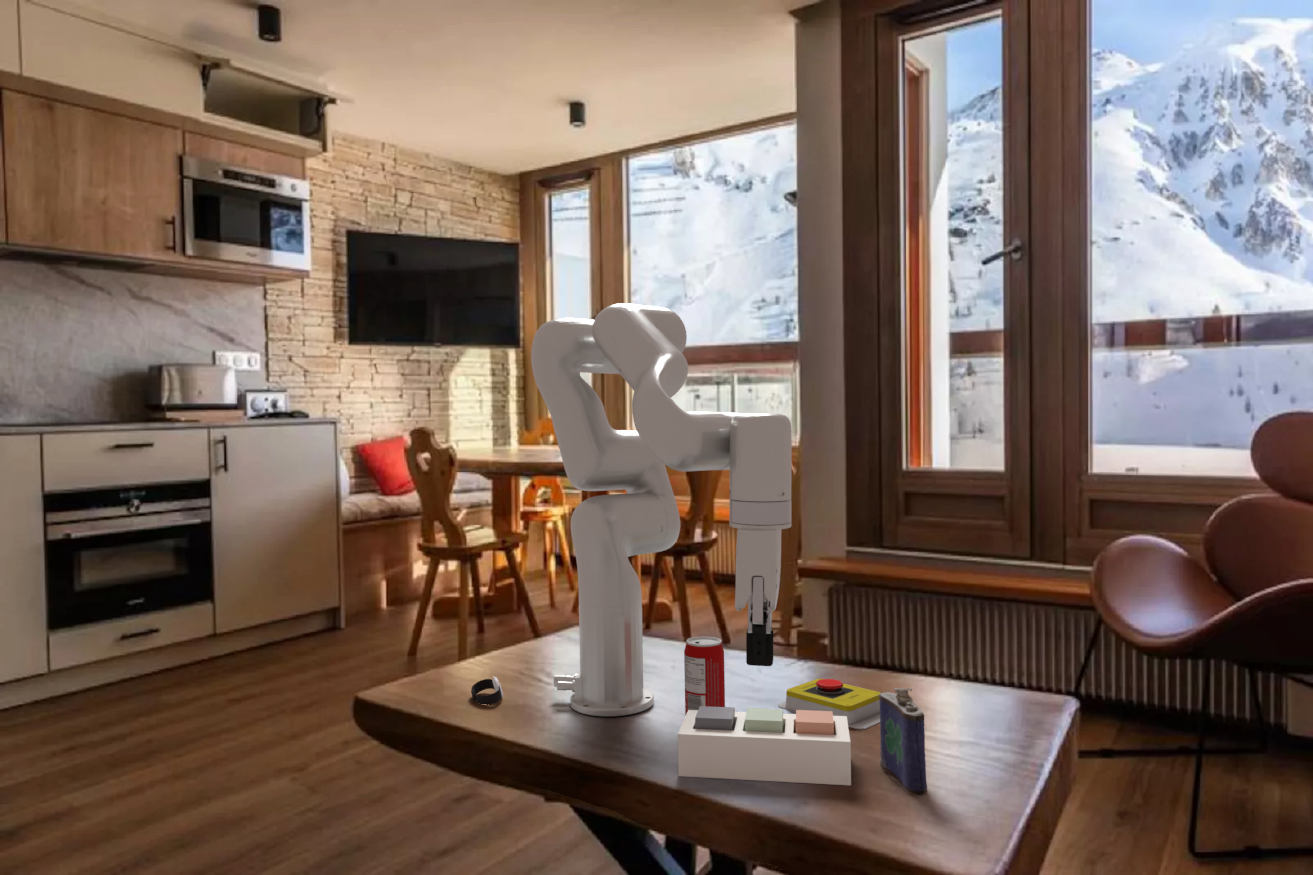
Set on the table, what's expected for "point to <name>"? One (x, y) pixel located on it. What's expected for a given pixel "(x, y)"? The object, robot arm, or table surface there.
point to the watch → (487, 685)
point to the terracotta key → (814, 722)
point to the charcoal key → (715, 718)
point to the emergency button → (836, 701)
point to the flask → (903, 741)
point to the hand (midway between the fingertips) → (759, 663)
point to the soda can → (704, 673)
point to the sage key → (764, 720)
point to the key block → (765, 753)
